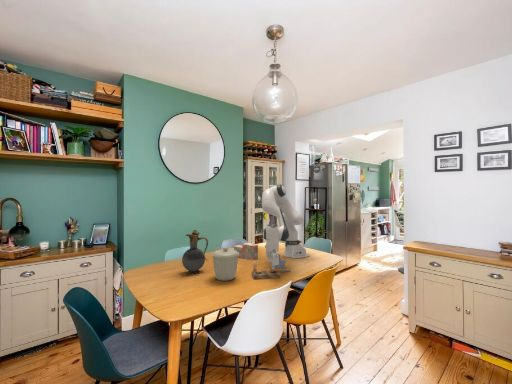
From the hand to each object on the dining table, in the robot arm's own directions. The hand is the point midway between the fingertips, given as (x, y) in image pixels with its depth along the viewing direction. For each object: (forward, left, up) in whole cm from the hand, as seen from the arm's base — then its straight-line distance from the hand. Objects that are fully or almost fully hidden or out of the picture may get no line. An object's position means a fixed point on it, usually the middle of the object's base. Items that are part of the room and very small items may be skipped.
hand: (272, 268), depth 166 cm
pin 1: (+10, -13, -5) cm, 17 cm away
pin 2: (0, 0, -2) cm, 2 cm away
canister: (+32, -2, -6) cm, 32 cm away
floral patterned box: (+11, -49, -6) cm, 50 cm away
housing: (-9, -18, -5) cm, 21 cm away
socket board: (+5, 0, -5) cm, 7 cm away
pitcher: (+52, -19, -6) cm, 55 cm away
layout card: (-11, -7, -5) cm, 14 cm away
